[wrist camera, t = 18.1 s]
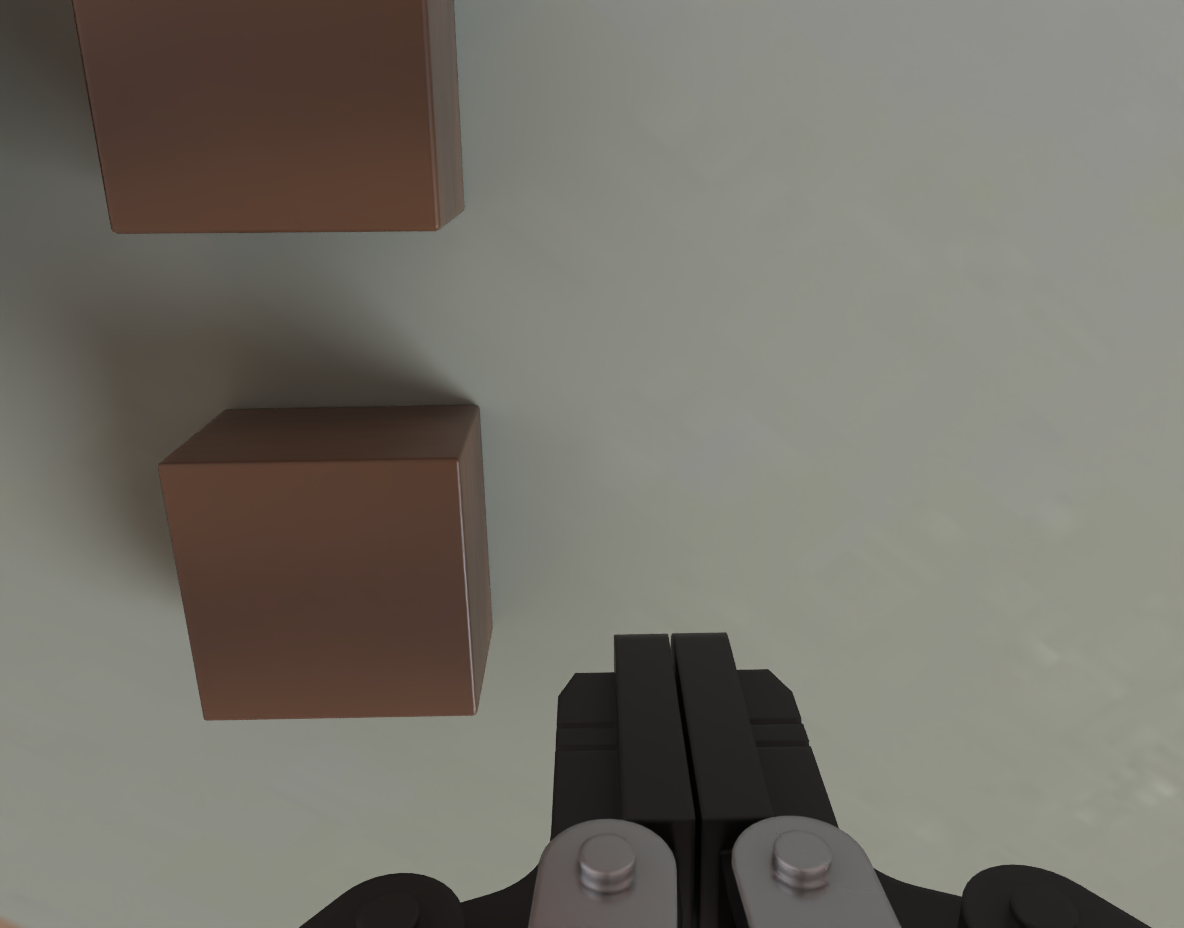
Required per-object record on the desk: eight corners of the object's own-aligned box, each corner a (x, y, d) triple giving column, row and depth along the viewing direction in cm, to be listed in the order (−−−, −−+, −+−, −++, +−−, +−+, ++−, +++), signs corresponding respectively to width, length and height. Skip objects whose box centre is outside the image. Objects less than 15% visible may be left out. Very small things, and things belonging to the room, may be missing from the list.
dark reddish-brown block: (224, 408, 19) (155, 464, 16) (479, 404, 19) (459, 457, 16) (258, 633, 20) (202, 722, 17) (493, 628, 20) (477, 716, 17)
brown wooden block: (145, -98, 16) (43, -149, 13) (448, -101, 16) (417, -151, 13) (191, 214, 18) (109, 234, 15) (465, 211, 18) (440, 231, 15)
